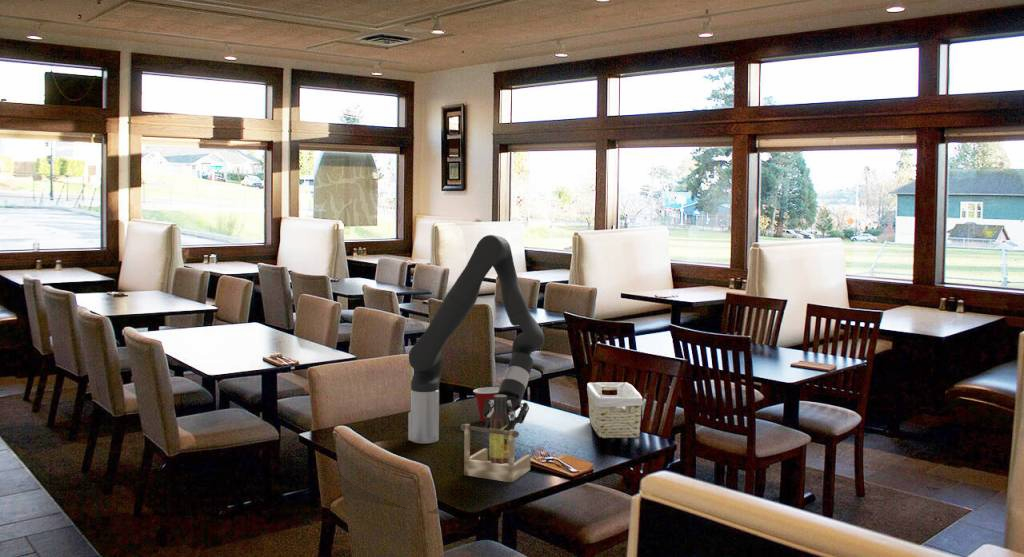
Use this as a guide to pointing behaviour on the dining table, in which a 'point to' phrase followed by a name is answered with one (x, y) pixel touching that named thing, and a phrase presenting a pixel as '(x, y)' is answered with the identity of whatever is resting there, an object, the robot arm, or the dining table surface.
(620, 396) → the storage basket
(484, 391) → the plastic cup
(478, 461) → the wooden table caddy
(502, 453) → the sauce bottle
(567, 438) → the dining table surface
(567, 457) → the dining table surface
